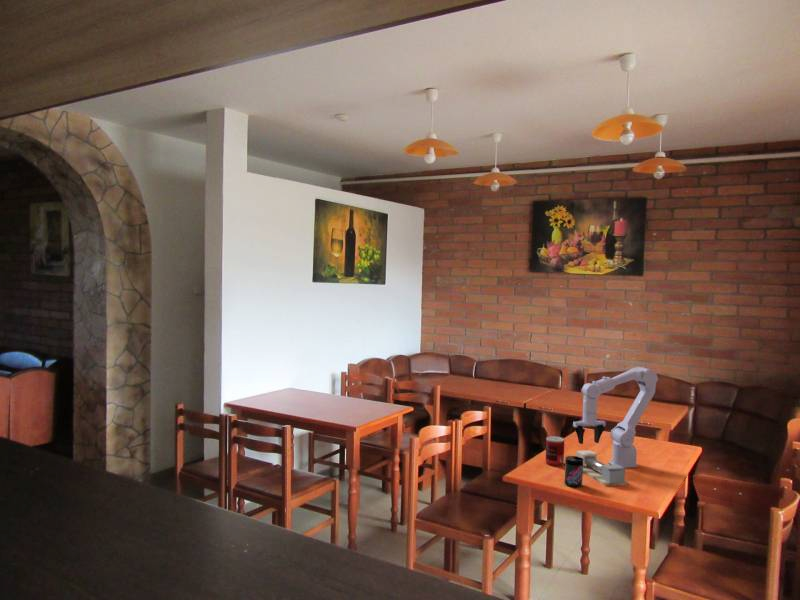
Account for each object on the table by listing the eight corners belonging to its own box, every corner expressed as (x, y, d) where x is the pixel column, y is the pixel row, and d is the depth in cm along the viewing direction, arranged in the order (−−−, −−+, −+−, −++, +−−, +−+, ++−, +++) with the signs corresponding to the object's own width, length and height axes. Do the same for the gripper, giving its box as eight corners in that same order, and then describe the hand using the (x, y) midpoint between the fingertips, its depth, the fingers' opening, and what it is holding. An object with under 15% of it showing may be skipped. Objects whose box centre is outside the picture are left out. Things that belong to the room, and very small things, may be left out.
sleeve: (575, 463, 247) (576, 451, 247) (589, 462, 249) (590, 450, 249) (582, 467, 242) (582, 454, 242) (596, 466, 244) (596, 453, 244)
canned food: (562, 461, 253) (563, 436, 253) (565, 467, 245) (565, 441, 245) (544, 460, 254) (545, 435, 254) (546, 465, 246) (547, 440, 246)
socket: (601, 478, 229) (602, 465, 229) (616, 477, 231) (617, 464, 230) (609, 483, 224) (610, 469, 224) (624, 482, 225) (625, 468, 225)
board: (569, 464, 249) (569, 462, 249) (590, 463, 251) (590, 460, 251) (606, 486, 223) (606, 483, 223) (628, 484, 226) (628, 482, 226)
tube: (582, 464, 245) (582, 455, 244) (590, 464, 246) (591, 454, 245) (609, 480, 226) (609, 470, 226) (618, 479, 227) (618, 469, 227)
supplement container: (561, 485, 223) (562, 458, 223) (568, 480, 229) (569, 454, 228) (578, 489, 219) (579, 462, 219) (584, 484, 225) (585, 458, 224)
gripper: (599, 409, 253) (598, 439, 253) (569, 410, 249) (568, 441, 250) (608, 412, 246) (607, 444, 246) (578, 413, 242) (577, 445, 243)
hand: (588, 442), depth 248 cm, fingers open, 7 cm apart
